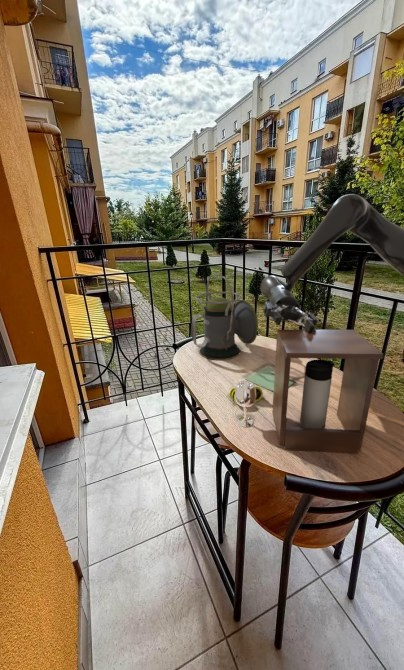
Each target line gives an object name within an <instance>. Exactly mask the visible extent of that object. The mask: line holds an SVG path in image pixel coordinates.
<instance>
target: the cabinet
mask: <svg viewBox="0 0 404 670" xmlns="http://www.w3.org/2000/svg"><path fill="white" fill-rule="evenodd" d="M275 345H276V347H275V362H274V374H275V378H274V392H273V396H272V397H273V398H272V417H273V421H274V429H275V432H276V437H277V441H278V447H283V449H284V450H285V451H299V452H300V451H301V452H315V453H316V452H319V453H339V454H340V453H341V454H354V455H355V454H356V455H357V454H358V453H359V451H362V447H363V442H364V436H365V432H366V427H367V421H368V418H369V417H368V416H369V412H370V406H371V402H372V397H373V391H374V388H375V387H374V386H375V381H376V377H377V371H378V367H379V361H380V360H383V358H384V353H383V352H382V351H380V349H378V348H377V347H376V346H374V345H373V344H372V343H371V342H370V341H368V340H367V338H365V337H364V336H362V334H360V333H359V332H358V331H357V330H356V329H313V332H311V333H308V332H307V331H306V329H277V330H276V344H275ZM292 359H332V360H333V359H334V360H335V359H336V360H337V359H341V360H344V365H343V371H342V378H341V386H340V392H339V397H338V398H339V399H338V403H337V404H338V405H337V410H336V416H337V418H338V420H339V422H340V423H341V425H342V427H343V429H341V428H339V429H338V428H325V429H320V428H300V427H296V426H295V427H294V426H293V427H292V426H286V425H287V411H288V399H289V398H288V397H289V387H290V386H289V379H290V373H291V362H292V361H291V360H292Z"/></svg>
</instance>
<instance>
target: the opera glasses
mask: <svg viewBox="0 0 404 670" xmlns="http://www.w3.org/2000/svg"><path fill="white" fill-rule="evenodd" d="M254 386H255V390H256V401H255V402H259V401H260V400H261V399H262V398H263V395H264V393H263V392H264V391H263V390H262V388H260V386H258V385H254ZM235 390H236V387H233V388H231V389H230V390H229V394H228V395H229V398H230V399H231V400H232V401H234V403H235V405H238V404H237V402H236V400H235ZM238 406H239V405H238Z"/></svg>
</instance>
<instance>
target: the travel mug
mask: <svg viewBox="0 0 404 670" xmlns="http://www.w3.org/2000/svg"><path fill="white" fill-rule="evenodd" d="M334 367H335V363H334V362H333V360H326V359H322V358H316V359H312V360H309V361H307V362H306V363H305V370H304V376H303V378H304V379H303V388H302V397H301V409H300V417H299V418H300V419H299V428H320V429H326V421H327V415H328V408H329V401H330V393H331V386H332V378H333V370H334Z"/></svg>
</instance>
